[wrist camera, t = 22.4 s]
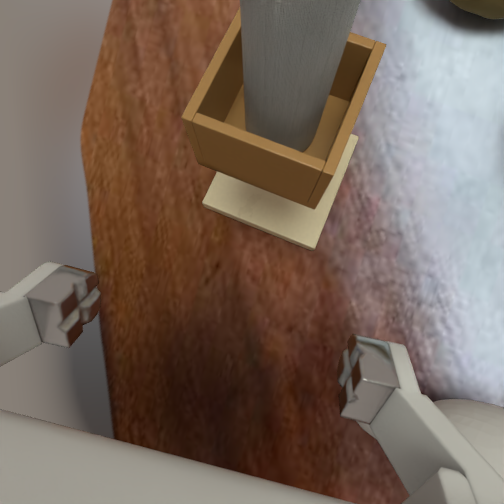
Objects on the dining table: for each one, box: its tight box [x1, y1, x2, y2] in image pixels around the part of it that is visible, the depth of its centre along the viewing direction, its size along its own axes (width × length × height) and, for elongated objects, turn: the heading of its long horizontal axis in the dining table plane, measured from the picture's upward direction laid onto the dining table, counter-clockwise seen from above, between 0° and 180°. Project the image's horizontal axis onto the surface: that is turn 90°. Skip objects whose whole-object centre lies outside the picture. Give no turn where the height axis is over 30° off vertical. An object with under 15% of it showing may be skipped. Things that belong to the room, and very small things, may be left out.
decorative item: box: [357, 399, 504, 479], centre depth 21 cm, size 18×9×15 cm
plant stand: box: [182, 8, 386, 251], centre depth 19 cm, size 12×14×28 cm
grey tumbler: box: [240, 0, 361, 152], centre depth 15 cm, size 4×4×10 cm
